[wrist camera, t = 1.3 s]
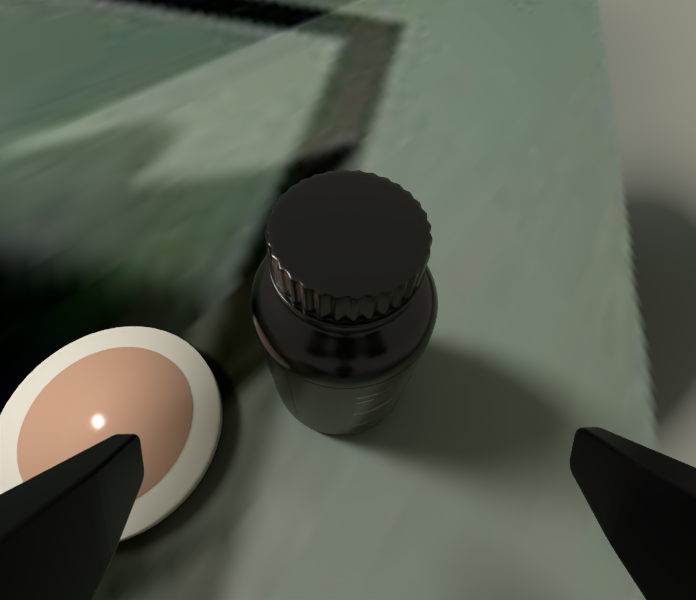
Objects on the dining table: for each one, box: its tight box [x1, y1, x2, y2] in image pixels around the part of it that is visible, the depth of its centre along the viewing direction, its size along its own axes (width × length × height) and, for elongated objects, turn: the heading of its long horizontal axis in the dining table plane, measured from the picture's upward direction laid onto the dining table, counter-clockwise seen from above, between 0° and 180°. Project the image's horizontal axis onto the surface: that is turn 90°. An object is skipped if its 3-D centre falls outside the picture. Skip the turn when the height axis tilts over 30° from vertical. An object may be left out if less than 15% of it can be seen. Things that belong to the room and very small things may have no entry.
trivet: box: [0, 327, 223, 542], centre depth 19 cm, size 10×10×1 cm
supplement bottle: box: [251, 170, 438, 435], centre depth 16 cm, size 7×7×12 cm
